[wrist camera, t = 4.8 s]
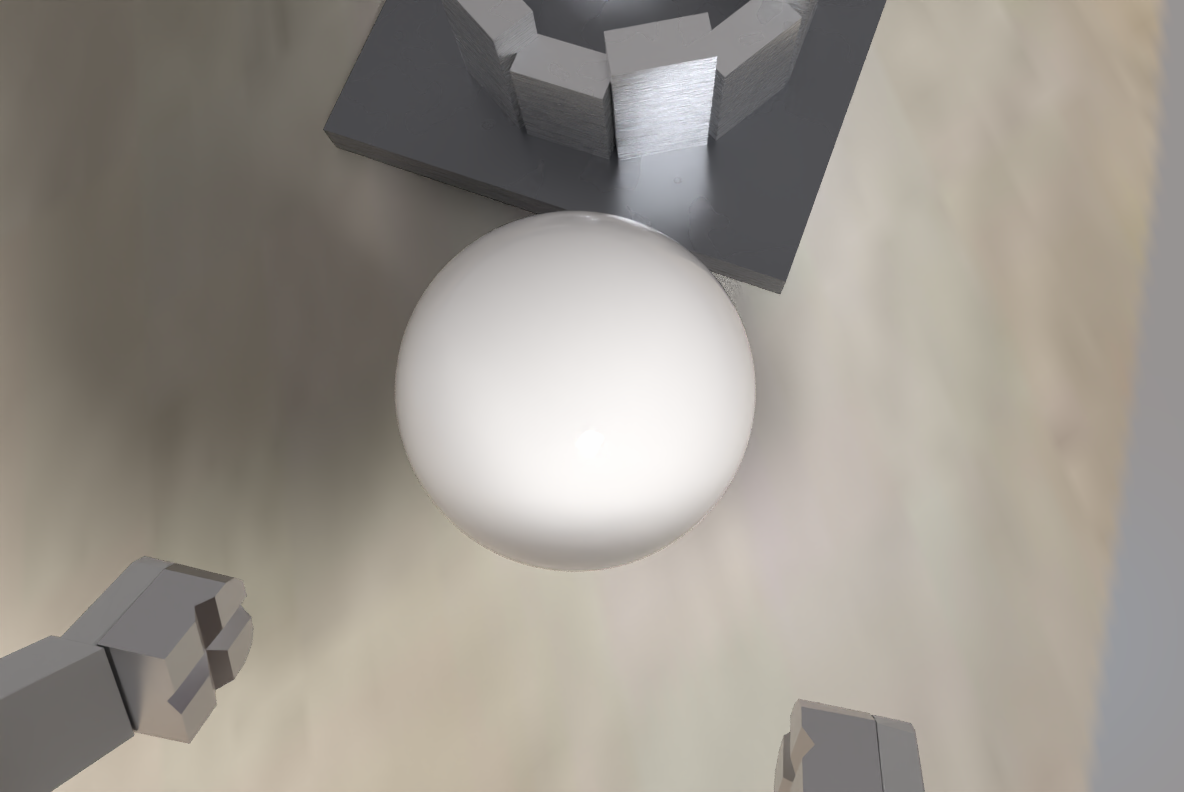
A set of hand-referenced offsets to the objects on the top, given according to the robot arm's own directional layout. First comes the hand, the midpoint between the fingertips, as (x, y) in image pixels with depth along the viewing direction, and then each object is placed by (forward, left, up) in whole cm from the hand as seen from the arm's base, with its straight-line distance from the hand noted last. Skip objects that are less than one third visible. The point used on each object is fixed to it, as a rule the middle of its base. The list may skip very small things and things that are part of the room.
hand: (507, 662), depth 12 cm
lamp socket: (-5, +17, -10) cm, 21 cm away
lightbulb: (-1, +4, -10) cm, 11 cm away
